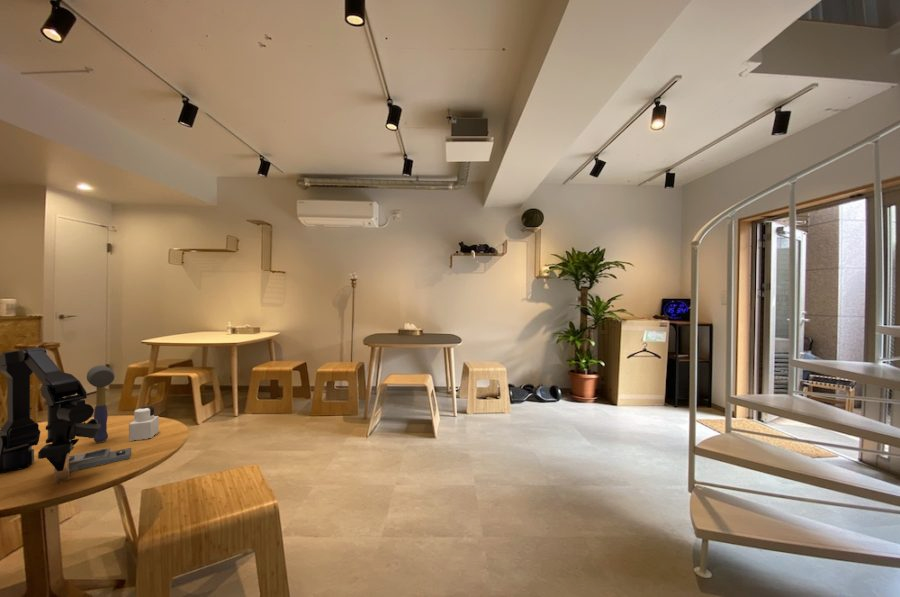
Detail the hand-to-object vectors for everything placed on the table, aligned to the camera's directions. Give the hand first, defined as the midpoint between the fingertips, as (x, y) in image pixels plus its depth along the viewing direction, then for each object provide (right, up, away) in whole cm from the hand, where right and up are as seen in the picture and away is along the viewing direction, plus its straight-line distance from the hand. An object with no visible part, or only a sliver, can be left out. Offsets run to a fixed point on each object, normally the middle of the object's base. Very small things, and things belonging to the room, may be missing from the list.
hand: (62, 468), depth 106 cm
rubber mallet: (-17, -4, +28) cm, 33 cm away
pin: (0, -4, 0) cm, 4 cm away
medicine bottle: (-4, -4, +33) cm, 34 cm away
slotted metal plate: (-2, -4, +12) cm, 12 cm away
